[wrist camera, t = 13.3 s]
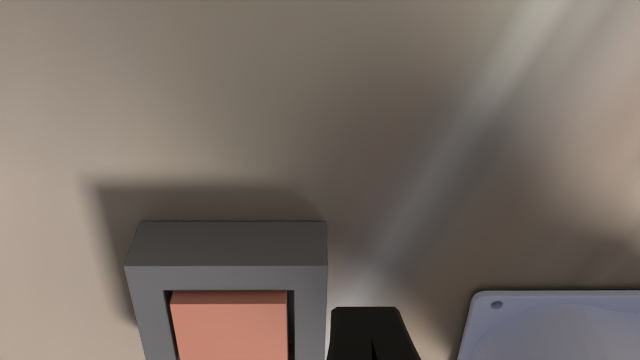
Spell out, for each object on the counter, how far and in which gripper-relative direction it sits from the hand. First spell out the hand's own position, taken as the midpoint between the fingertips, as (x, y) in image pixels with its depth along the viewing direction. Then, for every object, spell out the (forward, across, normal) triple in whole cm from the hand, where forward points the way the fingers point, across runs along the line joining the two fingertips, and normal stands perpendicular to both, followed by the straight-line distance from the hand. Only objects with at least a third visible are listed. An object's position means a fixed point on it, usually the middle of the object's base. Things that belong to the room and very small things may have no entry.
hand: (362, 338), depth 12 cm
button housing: (+9, +4, +8) cm, 13 cm away
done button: (+8, +4, +8) cm, 12 cm away
